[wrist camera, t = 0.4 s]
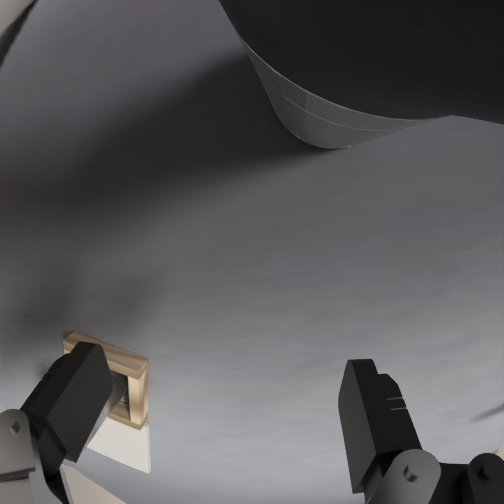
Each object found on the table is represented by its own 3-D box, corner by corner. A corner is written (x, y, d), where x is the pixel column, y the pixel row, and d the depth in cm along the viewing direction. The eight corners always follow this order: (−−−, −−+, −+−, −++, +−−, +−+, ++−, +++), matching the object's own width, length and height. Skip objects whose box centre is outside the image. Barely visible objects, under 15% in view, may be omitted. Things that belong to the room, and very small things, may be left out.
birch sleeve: (74, 330, 32) (62, 340, 30) (148, 358, 32) (138, 371, 29) (82, 390, 35) (73, 401, 33) (147, 417, 34) (140, 430, 32)
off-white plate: (71, 390, 36) (68, 393, 35) (148, 423, 35) (146, 427, 34) (83, 440, 39) (81, 443, 38) (150, 470, 38) (148, 473, 37)
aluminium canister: (92, 353, 33) (27, 420, 21) (128, 368, 33) (68, 445, 20) (95, 384, 34) (39, 450, 22) (130, 398, 34) (78, 472, 22)
